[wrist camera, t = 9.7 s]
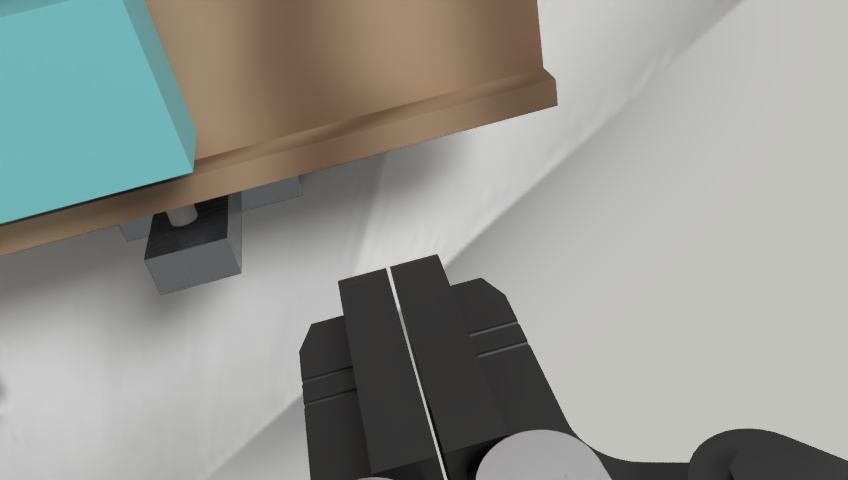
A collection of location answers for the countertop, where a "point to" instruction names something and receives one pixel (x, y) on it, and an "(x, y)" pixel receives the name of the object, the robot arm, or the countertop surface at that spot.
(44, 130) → the teal block
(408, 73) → the beam
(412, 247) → the countertop surface
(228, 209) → the pivot stand
